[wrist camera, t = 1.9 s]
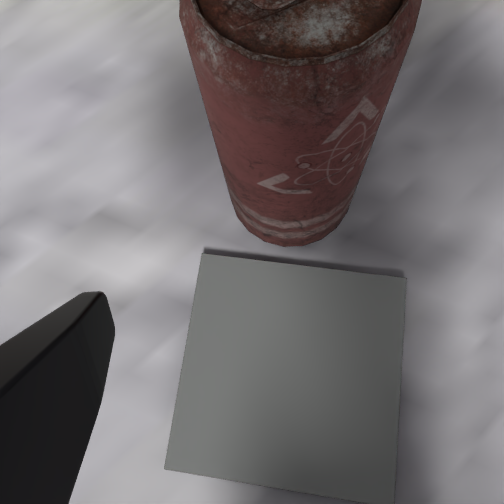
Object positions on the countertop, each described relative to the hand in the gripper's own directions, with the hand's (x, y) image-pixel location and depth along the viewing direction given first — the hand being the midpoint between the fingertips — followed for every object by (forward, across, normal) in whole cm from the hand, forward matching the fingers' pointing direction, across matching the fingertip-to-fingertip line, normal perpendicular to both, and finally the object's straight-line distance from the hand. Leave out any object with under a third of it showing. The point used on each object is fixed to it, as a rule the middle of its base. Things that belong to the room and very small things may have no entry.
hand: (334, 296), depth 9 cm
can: (+16, 0, +4) cm, 16 cm away
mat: (+9, +1, +10) cm, 14 cm away
